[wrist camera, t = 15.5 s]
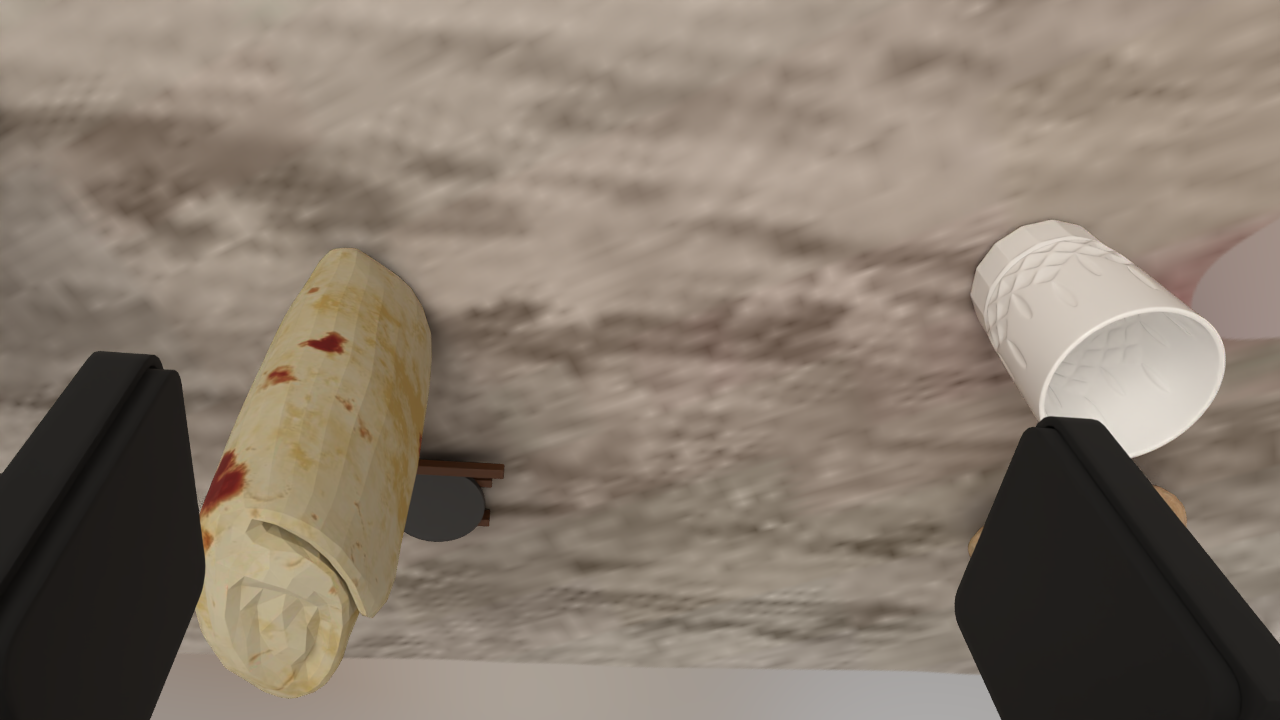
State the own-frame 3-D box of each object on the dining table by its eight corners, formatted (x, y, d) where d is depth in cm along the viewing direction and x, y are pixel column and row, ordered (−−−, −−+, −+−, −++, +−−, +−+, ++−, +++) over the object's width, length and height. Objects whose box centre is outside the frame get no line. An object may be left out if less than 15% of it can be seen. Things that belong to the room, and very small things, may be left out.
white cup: (960, 358, 52) (1038, 478, 44) (955, 226, 48) (1041, 331, 40) (1108, 327, 52) (1215, 441, 44) (1117, 191, 48) (1237, 289, 39)
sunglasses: (244, 516, 54) (237, 534, 53) (236, 439, 52) (229, 455, 50) (499, 529, 56) (498, 546, 55) (505, 454, 54) (504, 470, 52)
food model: (278, 235, 46) (118, 526, 29) (423, 227, 46) (348, 511, 29) (320, 407, 51) (205, 738, 34) (450, 399, 51) (399, 723, 34)
